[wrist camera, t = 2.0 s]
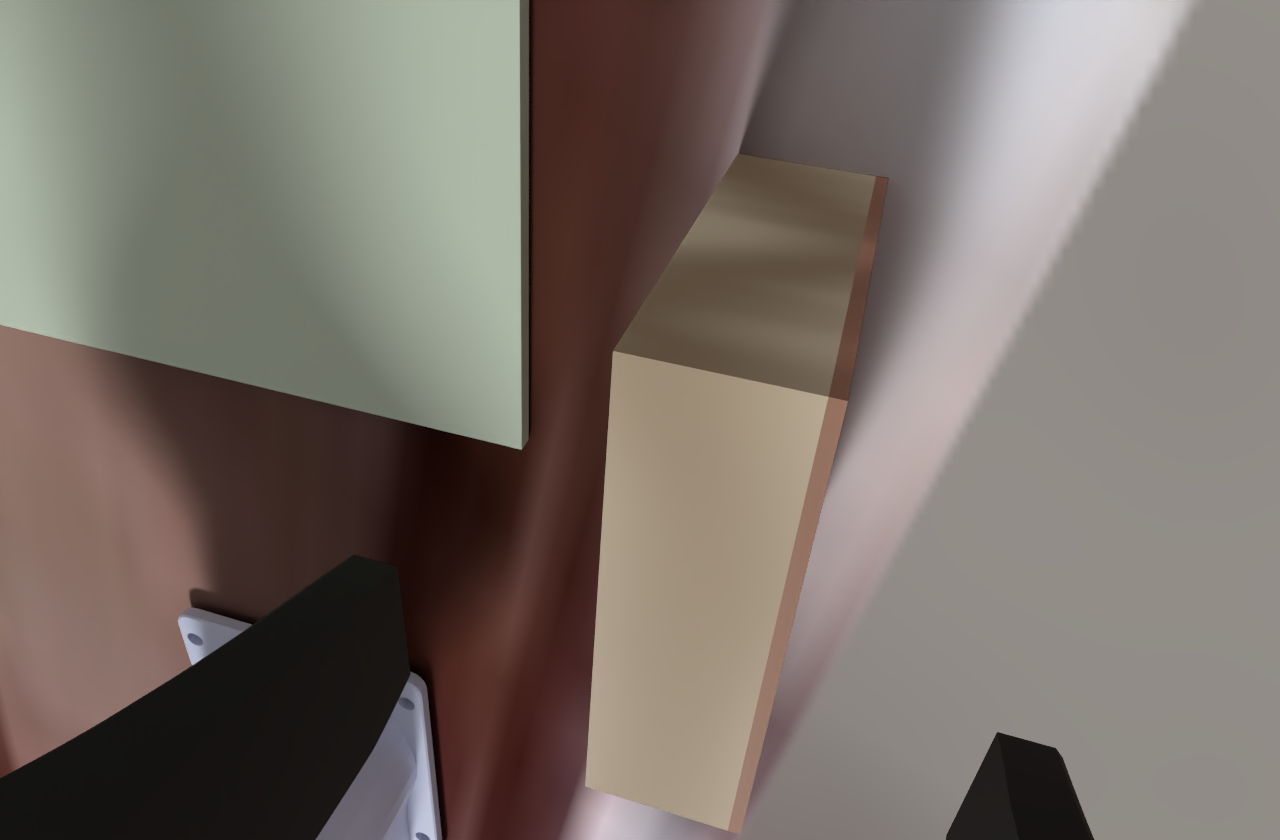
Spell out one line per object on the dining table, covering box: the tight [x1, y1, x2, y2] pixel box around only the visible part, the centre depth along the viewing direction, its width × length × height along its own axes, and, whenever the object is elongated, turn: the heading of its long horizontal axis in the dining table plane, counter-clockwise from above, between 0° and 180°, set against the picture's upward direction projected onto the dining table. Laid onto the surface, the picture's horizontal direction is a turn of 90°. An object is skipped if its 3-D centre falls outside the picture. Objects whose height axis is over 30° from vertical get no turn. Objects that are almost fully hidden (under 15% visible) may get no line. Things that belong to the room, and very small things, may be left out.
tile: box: [585, 154, 888, 834], centre depth 14 cm, size 2×8×7 cm, turn 176°
